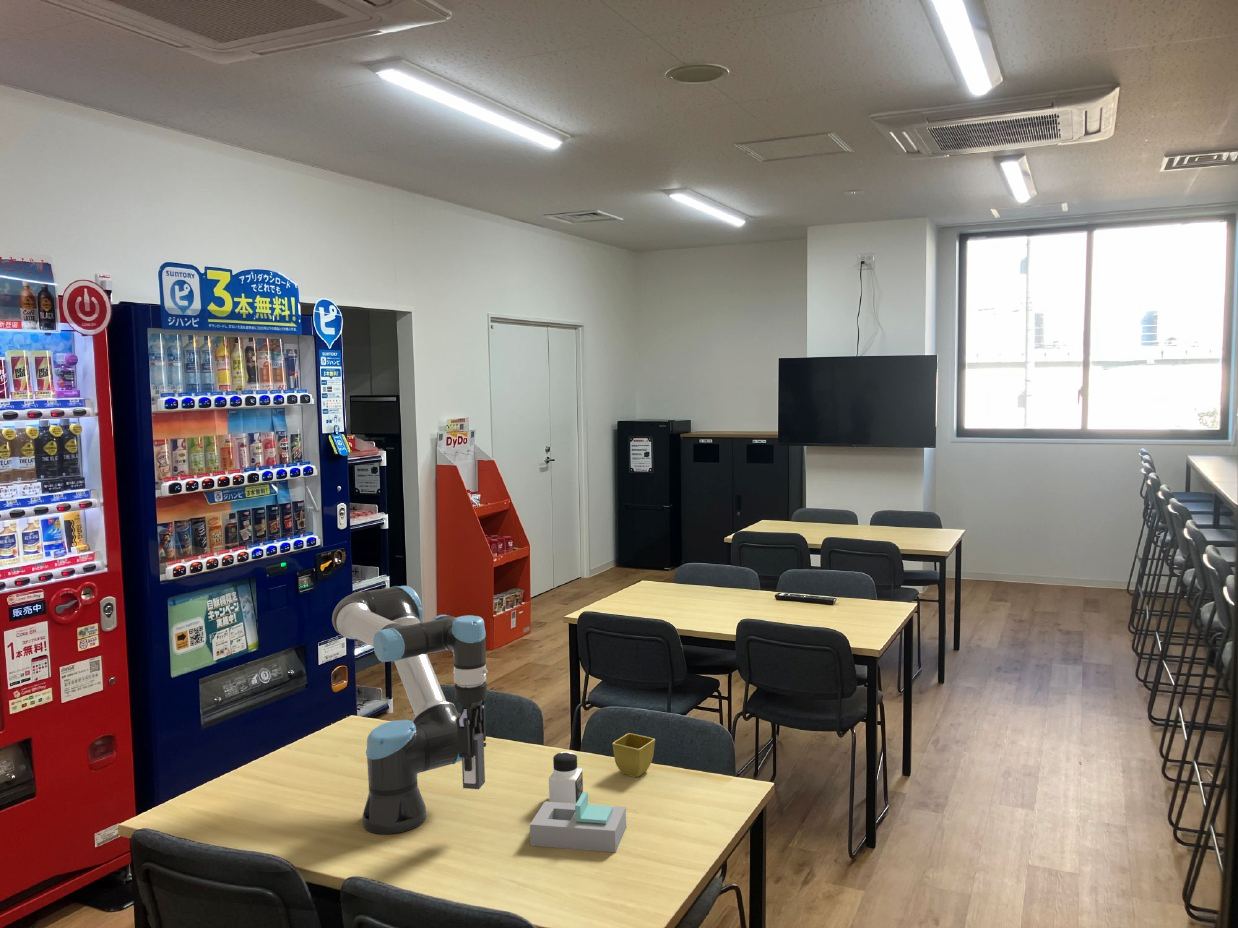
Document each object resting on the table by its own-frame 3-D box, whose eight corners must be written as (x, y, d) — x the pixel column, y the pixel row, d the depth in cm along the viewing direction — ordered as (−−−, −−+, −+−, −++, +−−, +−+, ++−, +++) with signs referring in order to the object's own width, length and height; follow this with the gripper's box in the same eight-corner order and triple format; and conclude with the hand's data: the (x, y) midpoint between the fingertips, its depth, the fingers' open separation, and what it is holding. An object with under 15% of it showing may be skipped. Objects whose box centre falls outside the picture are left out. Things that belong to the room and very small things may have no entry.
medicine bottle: (576, 807, 230) (575, 760, 229) (549, 805, 231) (547, 759, 230) (583, 794, 237) (582, 749, 236) (556, 793, 238) (555, 748, 237)
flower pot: (656, 770, 251) (655, 738, 250) (640, 782, 243) (639, 749, 243) (629, 763, 255) (628, 732, 255) (612, 775, 248) (611, 743, 247)
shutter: (575, 821, 211) (575, 805, 210) (583, 807, 218) (582, 791, 217) (606, 823, 209) (605, 807, 209) (612, 809, 216) (612, 793, 216)
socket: (530, 845, 211) (529, 824, 210) (545, 821, 222) (544, 801, 222) (615, 852, 207) (615, 830, 206) (626, 827, 218) (625, 806, 218)
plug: (463, 787, 217) (461, 738, 216) (469, 780, 221) (467, 732, 220) (479, 789, 216) (477, 739, 215) (484, 781, 220) (483, 733, 219)
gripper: (472, 695, 207) (475, 795, 209) (497, 671, 224) (500, 764, 226) (441, 693, 209) (444, 792, 211) (468, 670, 225) (471, 762, 227)
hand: (473, 777), depth 218 cm, fingers closed on plug, 4 cm apart
